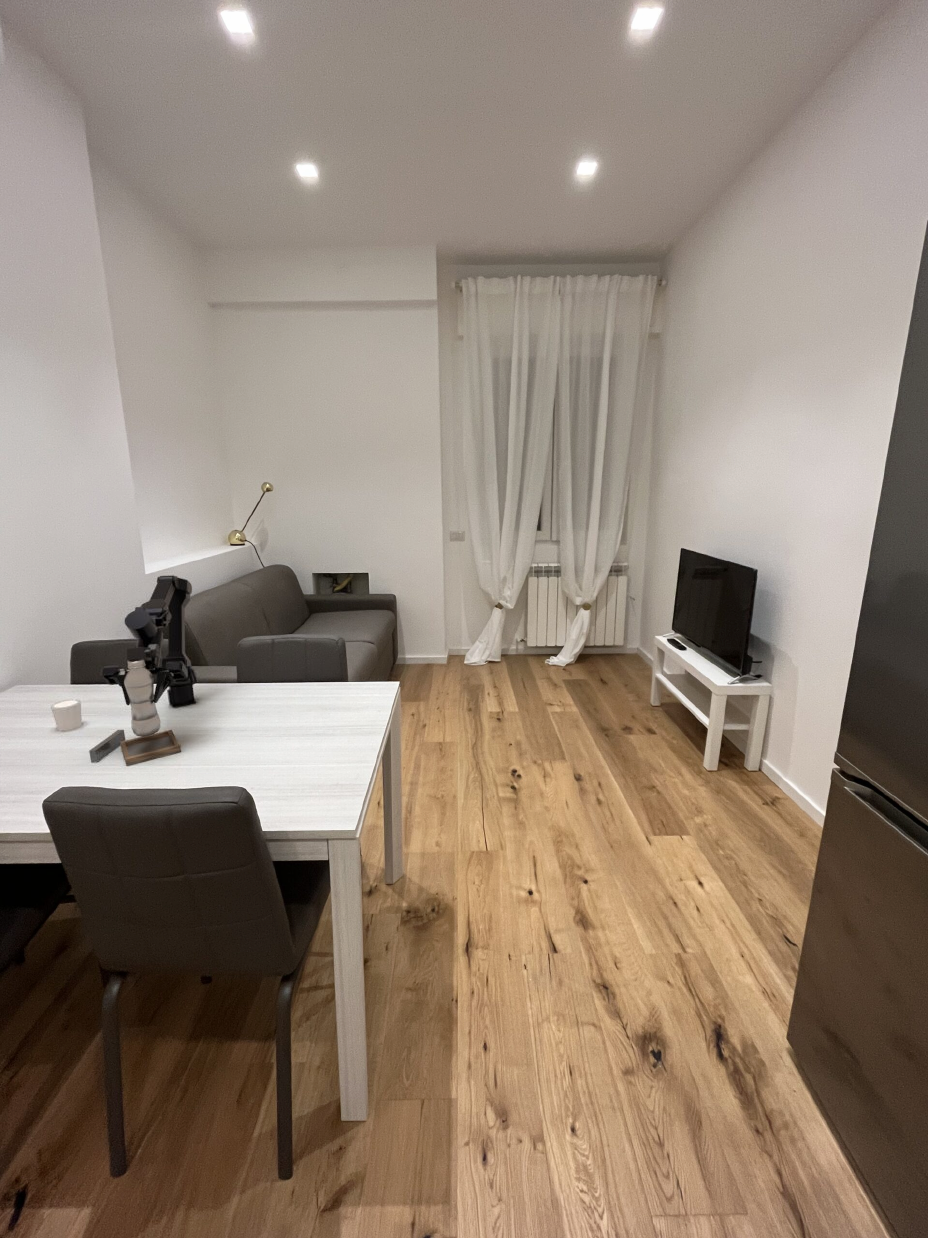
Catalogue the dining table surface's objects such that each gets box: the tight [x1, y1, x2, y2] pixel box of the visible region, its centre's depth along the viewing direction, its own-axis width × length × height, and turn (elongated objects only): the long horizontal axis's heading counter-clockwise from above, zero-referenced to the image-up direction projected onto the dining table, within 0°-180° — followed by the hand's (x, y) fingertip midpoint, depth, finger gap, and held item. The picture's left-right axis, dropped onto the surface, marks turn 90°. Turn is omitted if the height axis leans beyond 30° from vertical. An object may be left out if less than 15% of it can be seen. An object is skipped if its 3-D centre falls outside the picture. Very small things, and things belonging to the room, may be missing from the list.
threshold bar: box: [88, 729, 126, 763], centre depth 140 cm, size 12×2×3 cm, turn 1°
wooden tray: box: [119, 729, 182, 767], centre depth 140 cm, size 12×12×2 cm
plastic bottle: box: [124, 659, 162, 737], centre depth 137 cm, size 6×7×20 cm
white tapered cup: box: [50, 699, 83, 732], centre depth 153 cm, size 7×7×7 cm
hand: (141, 703), depth 136 cm, fingers closed on plastic bottle, 6 cm apart
